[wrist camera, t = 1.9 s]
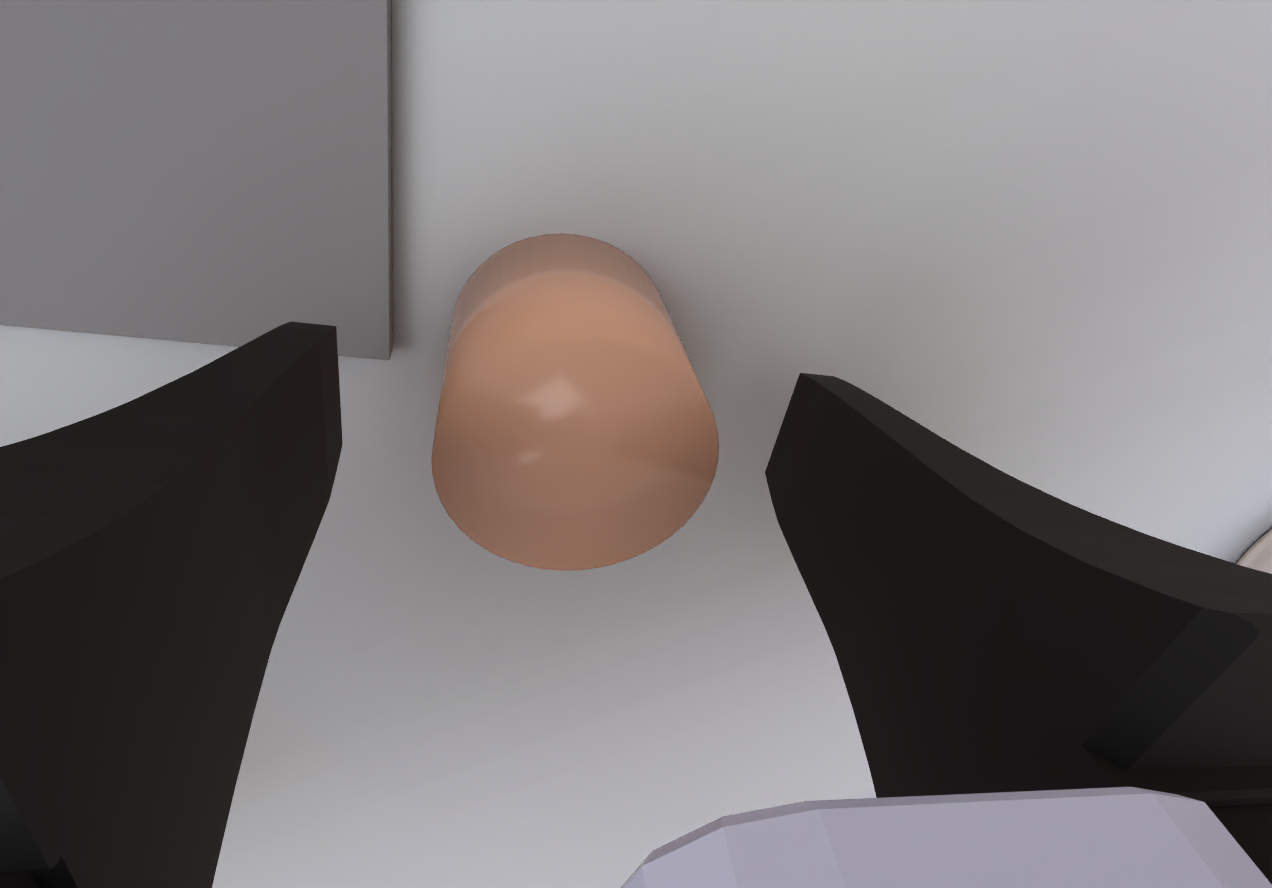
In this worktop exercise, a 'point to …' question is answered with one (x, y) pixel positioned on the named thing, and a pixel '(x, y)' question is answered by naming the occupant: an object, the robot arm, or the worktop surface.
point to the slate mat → (197, 168)
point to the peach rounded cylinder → (569, 409)
